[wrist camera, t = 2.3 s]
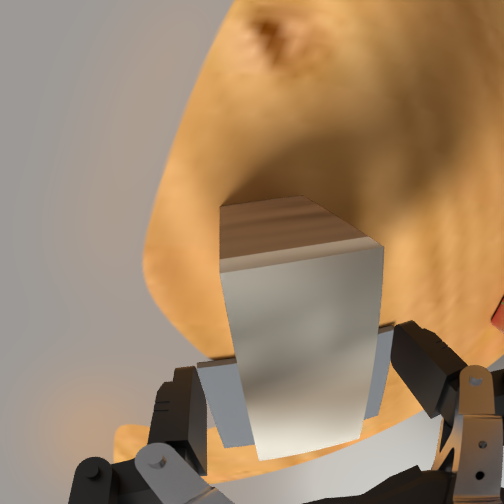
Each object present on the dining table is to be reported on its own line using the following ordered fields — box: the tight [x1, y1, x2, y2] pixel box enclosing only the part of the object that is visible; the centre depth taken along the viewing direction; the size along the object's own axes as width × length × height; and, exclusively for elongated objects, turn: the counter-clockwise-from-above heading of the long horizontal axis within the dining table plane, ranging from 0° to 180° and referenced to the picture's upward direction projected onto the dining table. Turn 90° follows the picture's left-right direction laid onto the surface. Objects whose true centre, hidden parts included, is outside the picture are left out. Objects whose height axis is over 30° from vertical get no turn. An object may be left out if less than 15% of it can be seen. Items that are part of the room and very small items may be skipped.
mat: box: [197, 325, 394, 448], centre depth 21 cm, size 10×14×1 cm
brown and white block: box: [220, 195, 384, 461], centre depth 13 cm, size 9×4×9 cm, turn 7°
